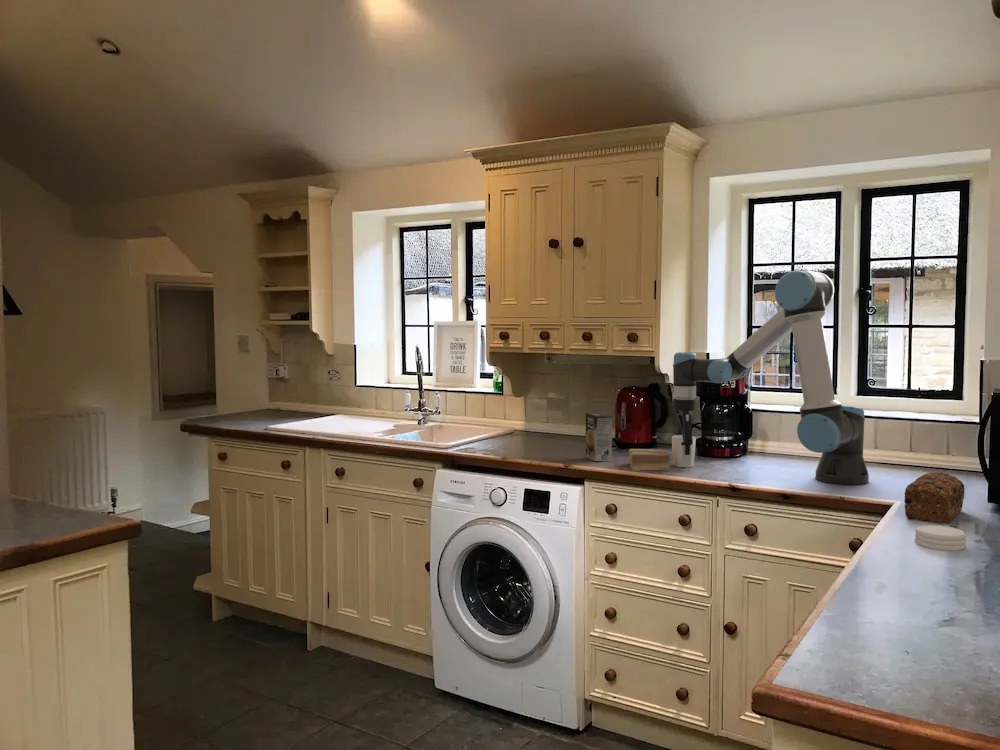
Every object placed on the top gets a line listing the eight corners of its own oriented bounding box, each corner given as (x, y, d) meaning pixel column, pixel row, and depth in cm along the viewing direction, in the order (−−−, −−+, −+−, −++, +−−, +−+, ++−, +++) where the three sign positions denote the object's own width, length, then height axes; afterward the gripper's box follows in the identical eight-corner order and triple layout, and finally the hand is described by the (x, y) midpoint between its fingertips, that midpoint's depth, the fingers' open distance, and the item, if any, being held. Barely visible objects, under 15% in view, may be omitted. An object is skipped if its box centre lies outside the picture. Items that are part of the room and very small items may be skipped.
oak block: (669, 470, 265) (669, 455, 265) (632, 470, 266) (632, 454, 266) (664, 464, 277) (664, 449, 277) (628, 463, 278) (629, 448, 278)
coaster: (970, 554, 173) (970, 538, 173) (918, 549, 176) (918, 533, 176) (961, 541, 182) (961, 526, 182) (911, 537, 186) (912, 522, 186)
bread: (921, 505, 217) (922, 468, 216) (966, 512, 210) (967, 473, 209) (901, 519, 203) (903, 479, 202) (949, 526, 196) (950, 485, 195)
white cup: (695, 468, 269) (696, 438, 268) (671, 467, 271) (671, 438, 270) (694, 464, 277) (695, 435, 276) (671, 463, 278) (671, 434, 278)
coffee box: (584, 457, 290) (585, 413, 289) (601, 456, 292) (601, 412, 291) (595, 462, 281) (595, 416, 280) (612, 461, 283) (612, 415, 282)
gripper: (667, 394, 285) (667, 454, 286) (678, 402, 260) (677, 467, 262) (689, 394, 284) (688, 454, 286) (702, 402, 260) (701, 467, 261)
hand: (683, 460), depth 274 cm, fingers open, 13 cm apart
